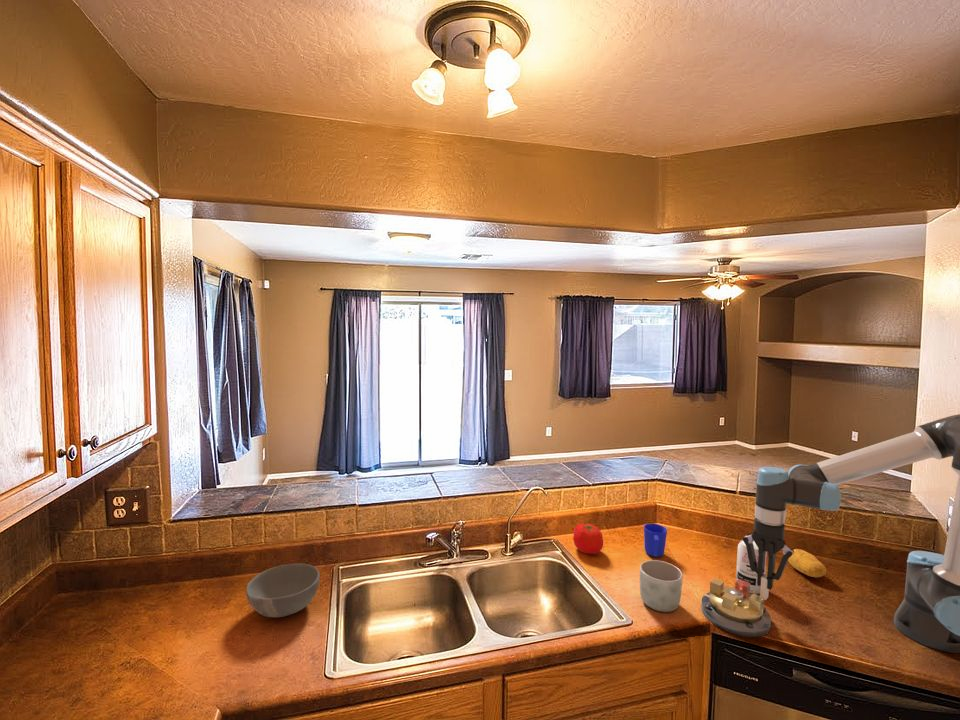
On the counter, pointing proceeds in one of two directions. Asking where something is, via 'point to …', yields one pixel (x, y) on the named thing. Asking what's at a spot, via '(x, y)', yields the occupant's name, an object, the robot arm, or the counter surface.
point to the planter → (660, 585)
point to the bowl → (283, 589)
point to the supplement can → (747, 567)
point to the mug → (654, 539)
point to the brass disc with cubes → (730, 607)
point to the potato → (807, 563)
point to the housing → (734, 626)
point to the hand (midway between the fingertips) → (764, 597)
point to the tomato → (588, 538)
